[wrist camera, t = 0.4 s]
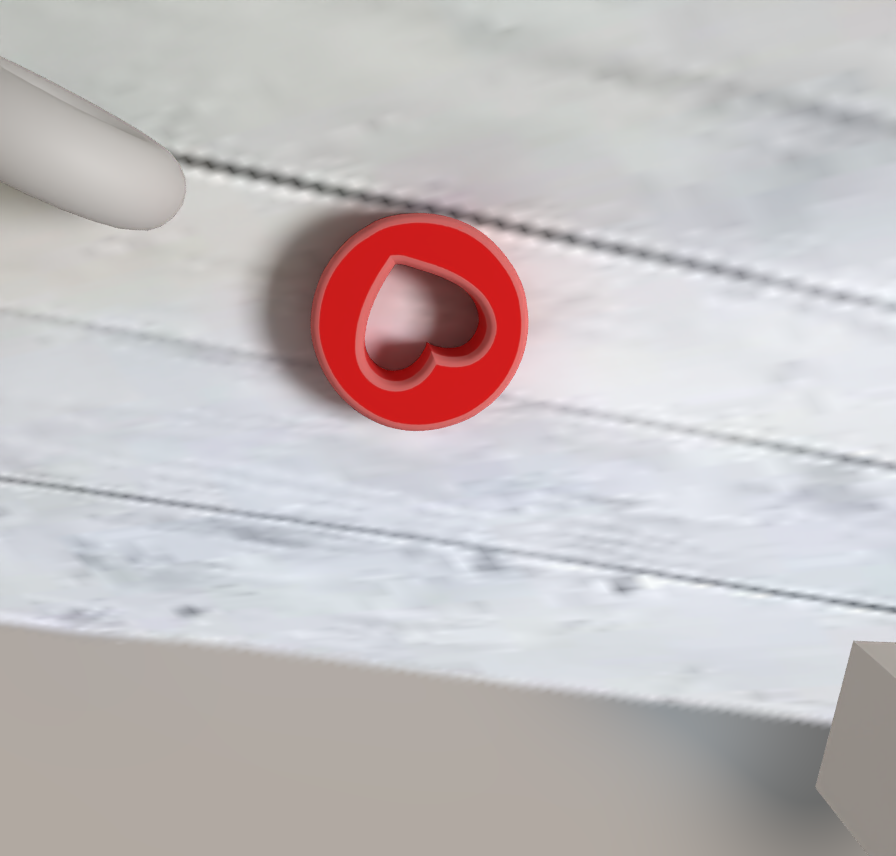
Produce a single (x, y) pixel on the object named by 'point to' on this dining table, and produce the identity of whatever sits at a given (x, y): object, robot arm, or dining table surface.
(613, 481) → the dining table surface
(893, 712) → the robot arm
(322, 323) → the decorative ornament
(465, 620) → the dining table surface
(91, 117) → the donut
